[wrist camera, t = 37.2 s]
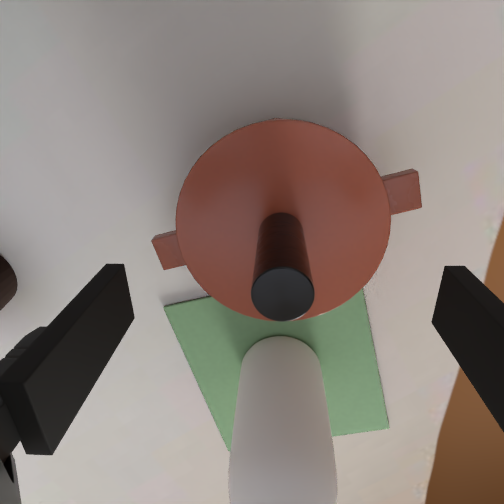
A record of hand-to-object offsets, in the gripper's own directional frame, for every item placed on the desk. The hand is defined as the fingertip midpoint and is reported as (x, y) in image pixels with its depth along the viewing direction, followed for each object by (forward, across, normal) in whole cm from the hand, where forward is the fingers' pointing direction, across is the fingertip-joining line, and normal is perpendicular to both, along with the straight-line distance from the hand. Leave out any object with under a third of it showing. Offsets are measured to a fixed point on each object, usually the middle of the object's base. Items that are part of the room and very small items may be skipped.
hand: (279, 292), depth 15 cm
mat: (+15, +1, -18) cm, 23 cm away
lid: (+8, 0, 0) cm, 9 cm away
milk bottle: (+14, 0, -17) cm, 23 cm away
